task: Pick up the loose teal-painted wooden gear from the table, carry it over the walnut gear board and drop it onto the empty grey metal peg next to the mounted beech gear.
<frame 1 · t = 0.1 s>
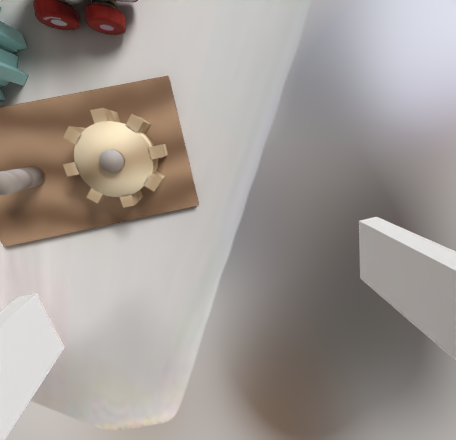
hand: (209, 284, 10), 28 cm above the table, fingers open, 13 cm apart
gear board: (84, 165, 34), on the table
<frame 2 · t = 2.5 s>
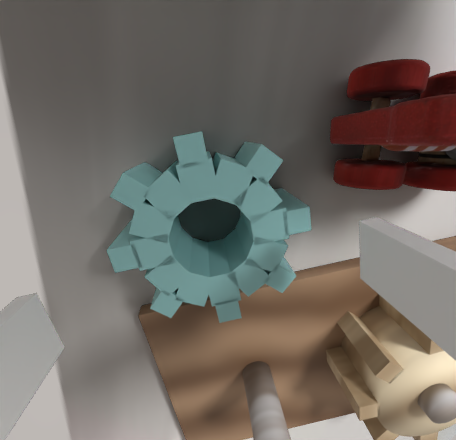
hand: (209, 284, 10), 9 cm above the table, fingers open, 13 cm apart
gear board: (316, 346, 24), on the table
toy fire truck: (390, 132, 18), on the table
teal gear: (209, 212, 18), on the table
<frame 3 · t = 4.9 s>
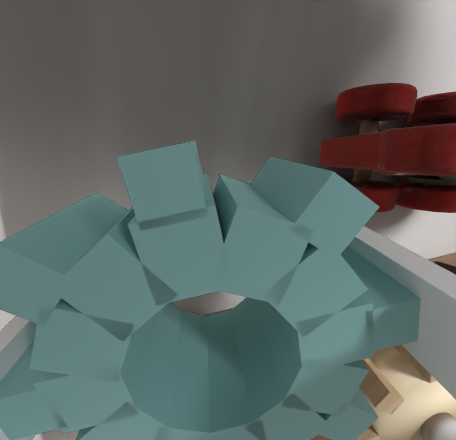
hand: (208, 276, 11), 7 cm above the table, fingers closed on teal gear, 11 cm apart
gear board: (312, 371, 23), on the table
toy fire truck: (380, 152, 18), on the table
teal gear: (208, 271, 11), point 7 cm above the table, touching gripper
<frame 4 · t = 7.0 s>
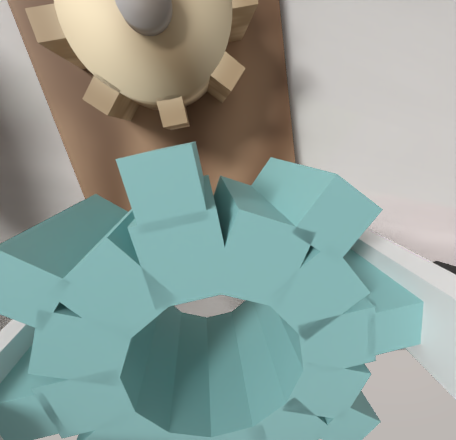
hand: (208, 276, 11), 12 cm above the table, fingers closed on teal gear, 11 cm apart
gear board: (183, 134, 20), on the table
teal gear: (209, 273, 11), point 12 cm above the table, touching gripper
when the fingers open (3 cm above the table, at t = 9.2 s): teal gear drops 2 cm, resting on gear board.
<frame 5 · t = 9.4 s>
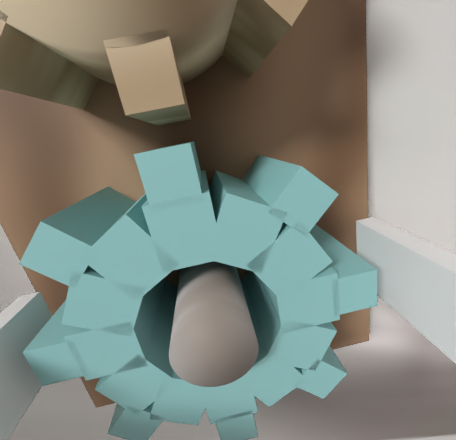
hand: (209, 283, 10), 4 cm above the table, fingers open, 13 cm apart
gear board: (179, 134, 12), on the table
teal gear: (206, 257, 13), point 1 cm above the table, touching gear board
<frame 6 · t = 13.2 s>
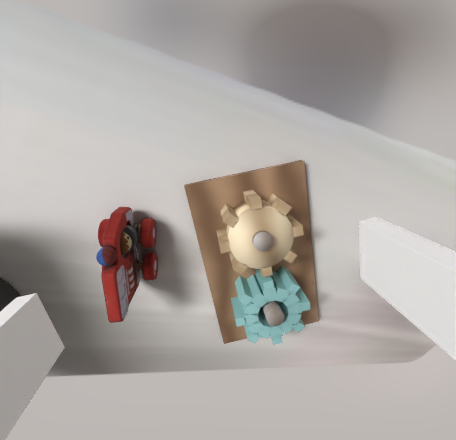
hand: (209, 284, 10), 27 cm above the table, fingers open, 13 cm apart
gear board: (258, 258, 40), on the table
toy fire truck: (134, 242, 38), on the table
teal gear: (264, 294, 41), point 1 cm above the table, touching gear board
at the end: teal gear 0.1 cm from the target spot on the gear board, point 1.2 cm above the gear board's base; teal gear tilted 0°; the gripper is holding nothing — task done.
